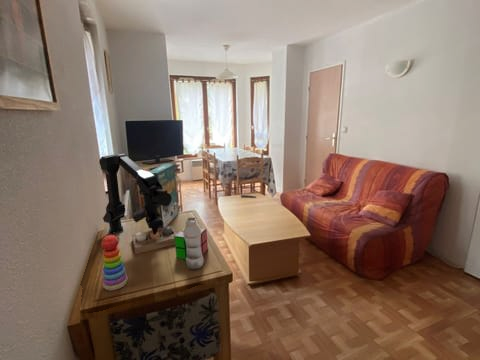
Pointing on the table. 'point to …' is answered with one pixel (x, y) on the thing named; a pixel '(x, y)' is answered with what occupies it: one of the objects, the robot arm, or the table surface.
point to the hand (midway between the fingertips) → (154, 234)
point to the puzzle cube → (181, 244)
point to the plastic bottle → (193, 244)
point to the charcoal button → (167, 230)
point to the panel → (153, 241)
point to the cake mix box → (168, 182)
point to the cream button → (141, 236)
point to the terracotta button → (154, 235)
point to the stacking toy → (113, 265)
